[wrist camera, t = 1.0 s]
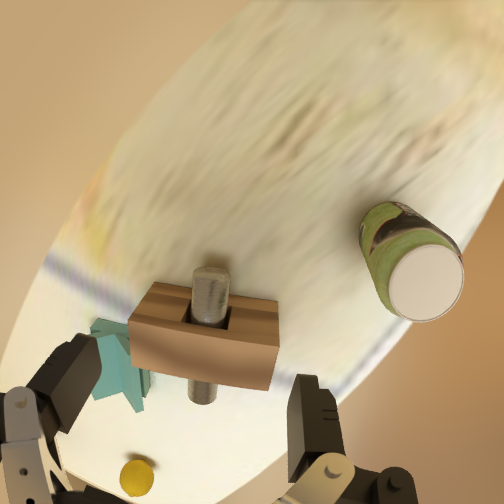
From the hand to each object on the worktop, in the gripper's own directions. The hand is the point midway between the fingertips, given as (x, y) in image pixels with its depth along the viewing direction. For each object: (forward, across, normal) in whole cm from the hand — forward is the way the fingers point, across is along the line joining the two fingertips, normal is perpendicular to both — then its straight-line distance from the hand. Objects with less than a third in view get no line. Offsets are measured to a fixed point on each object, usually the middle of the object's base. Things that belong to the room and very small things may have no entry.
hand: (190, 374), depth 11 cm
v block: (+17, +11, +17) cm, 26 cm away
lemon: (+17, +12, +42) cm, 46 cm away
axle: (+14, +1, +10) cm, 17 cm away
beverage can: (+18, -13, -2) cm, 22 cm away
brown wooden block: (+17, +1, +11) cm, 21 cm away
